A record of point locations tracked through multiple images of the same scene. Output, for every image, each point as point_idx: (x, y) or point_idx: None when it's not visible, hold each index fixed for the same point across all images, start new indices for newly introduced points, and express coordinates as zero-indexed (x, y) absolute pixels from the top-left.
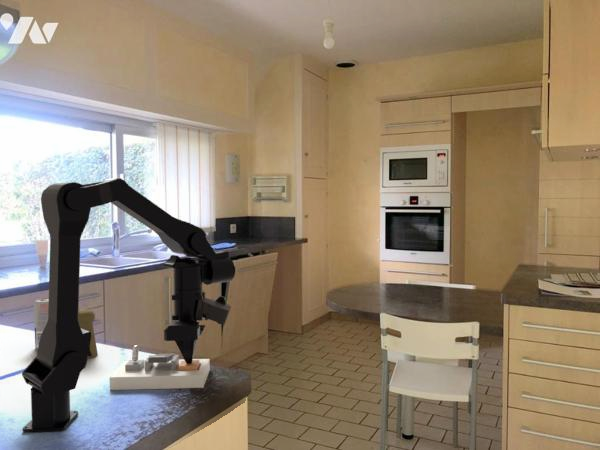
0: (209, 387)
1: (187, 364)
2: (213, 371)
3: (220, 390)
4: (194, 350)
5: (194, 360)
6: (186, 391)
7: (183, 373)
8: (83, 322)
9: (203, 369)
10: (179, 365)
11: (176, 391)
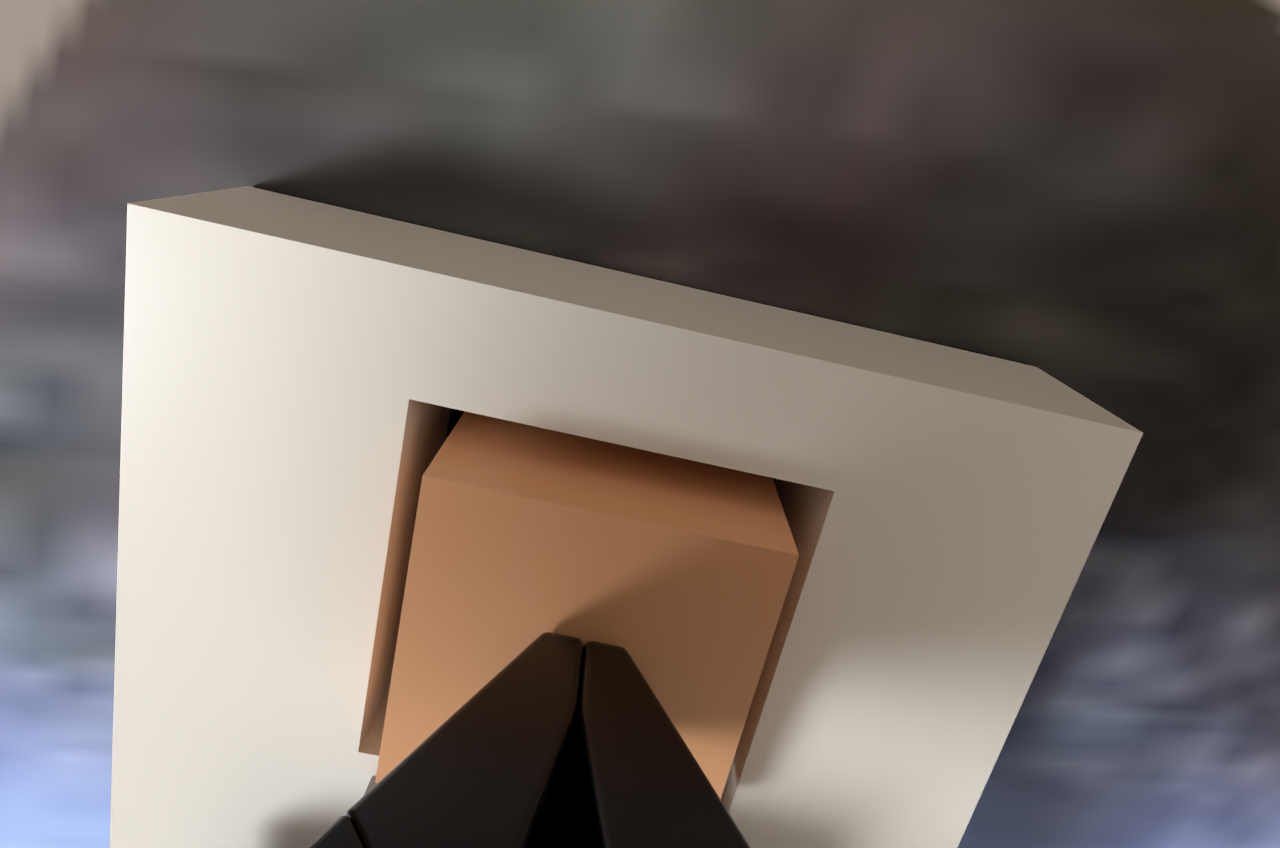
0: (1058, 273)
1: None
2: (315, 123)
3: (1272, 110)
4: (445, 738)
5: (427, 572)
6: None
7: (895, 734)
8: None
9: (809, 397)
10: None
11: None
